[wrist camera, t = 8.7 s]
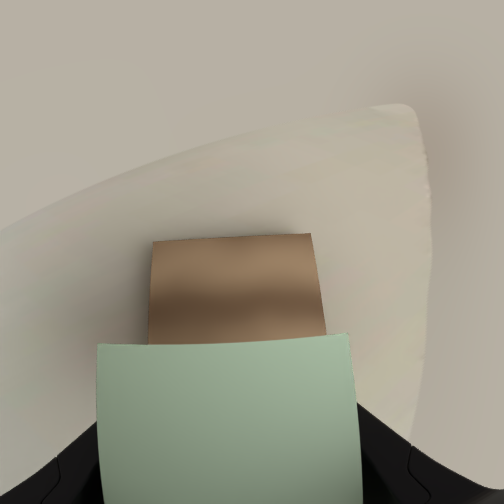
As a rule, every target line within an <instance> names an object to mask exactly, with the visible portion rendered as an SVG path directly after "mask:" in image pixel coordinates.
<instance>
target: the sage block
mask: <svg viewBox="0 0 504 504" xmlns="http://www.w3.org/2000/svg"><path fill="white" fill-rule="evenodd" d="M96 408H97V435H98V450H99V462H100V472H101V481H102V490H103V497H104V504H363V488H362V465H361V449H360V435H359V423H358V412H357V402H356V392H355V384H354V375H353V367H352V359H351V352H350V345H349V338H348V333H342V334H334V335H325V336H315V337H306V338H295V339H283V340H271V341H256V342H239V343H218V344H182V345H138V344H102V343H98V345H97V372H96Z"/></svg>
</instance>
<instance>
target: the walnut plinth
mask: <svg viewBox="0 0 504 504" xmlns="http://www.w3.org/2000/svg"><path fill="white" fill-rule="evenodd" d="M325 335H326V327H325V320H324V313H323V306H322V299H321V293H320V286H319V280H318V273H317V267H316V261H315V255H314V250H313V244H312V238H311V233H305V234H284V235H264V236H244V237H226V238H208V239H190V240H174V241H158V242H153V252H152V264H151V278H150V295H149V317H148V345H182V344H218V343H239V342H256V341H271V340H283V339H295V338H306V337H315V336H325Z"/></svg>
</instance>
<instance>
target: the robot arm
mask: <svg viewBox="0 0 504 504" xmlns="http://www.w3.org/2000/svg"><path fill="white" fill-rule="evenodd" d="M357 412H358V423H359V435H360V449H361V465H362V488H363V504H504V489H501V490H499V489H491V488H487V487H484V486H482V485H479V484H477V483H475V482H473V481H471V480H469V479H467V478H465V477H463V476H461V475H459V474H457V473H456V472H454V471H452V470H450V469H448V468H446V467H445V466H443V465H441V464H439V463H438V462H436V461H435V460H433V459H431V458H430V457H428V456H427V455H426V454H424V453H423V452H421V451H420V450H419V449H417V448H416V447H415V446H411V444H410V443H409V442H408V441H406V440H405V439H404V438H402V437H401V436H400V435H398V434H397V433H396V432H394V431H393V430H392V429H391V428H389V427H388V426H387V425H385V424H384V423H383V422H381V421H380V420H379V419H378V418H376V417H375V416H374V415H372V414H371V413H370V412H369V411H367V410H366V409H365V408H364V407H362V406H361V405H360V404H359V403H357ZM0 504H104V497H103V490H102V481H101V472H100V462H99V450H98V435H97V421H96V422H95V423H94V424H93V425H92V426H90V427H89V428H88V429H87V430H86V431H85V432H84V433H82V434H81V435H80V436H79V437H78V438H77V439H76V440H74V441H73V442H72V443H71V444H70V445H69V446H67V447H66V448H65V449H64V450H63V451H62V452H61V453H59V454H58V455H57V457H55V458H53V459H52V460H51V461H50V462H49V463H48V464H46V465H45V466H44V467H43V468H41V469H40V470H39V471H38V472H36V473H35V474H34V475H32V476H31V477H29V478H28V479H26V480H25V481H23V482H22V483H20V484H19V485H17V486H16V487H14V488H13V489H11V490H10V491H8V492H6V493H5V494H3V495H2V496H0Z"/></svg>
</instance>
